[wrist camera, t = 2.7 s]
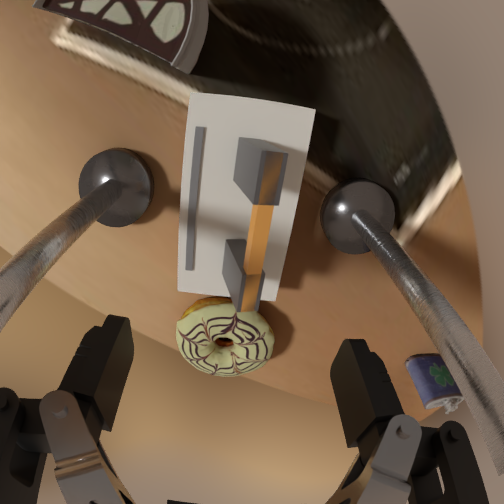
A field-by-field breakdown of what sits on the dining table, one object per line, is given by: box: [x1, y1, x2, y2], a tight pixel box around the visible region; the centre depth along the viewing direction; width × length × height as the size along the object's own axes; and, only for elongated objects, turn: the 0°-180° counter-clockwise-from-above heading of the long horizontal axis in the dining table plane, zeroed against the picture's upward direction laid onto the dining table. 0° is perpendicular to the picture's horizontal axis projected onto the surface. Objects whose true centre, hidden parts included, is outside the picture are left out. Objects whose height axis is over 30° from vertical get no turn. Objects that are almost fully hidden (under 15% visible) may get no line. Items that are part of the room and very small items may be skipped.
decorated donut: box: [176, 297, 275, 376], centre depth 31 cm, size 10×11×4 cm
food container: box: [32, 0, 209, 74], centre depth 13 cm, size 12×6×10 cm, turn 55°
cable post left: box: [0, 148, 154, 332], centre depth 14 cm, size 7×7×24 cm
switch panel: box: [178, 92, 316, 301], centre depth 24 cm, size 9×17×3 cm, turn 172°
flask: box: [405, 354, 464, 414], centre depth 34 cm, size 9×3×11 cm, turn 74°
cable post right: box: [320, 178, 504, 476], centre depth 16 cm, size 7×7×24 cm
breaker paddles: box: [222, 137, 289, 312], centre depth 20 cm, size 2×11×5 cm, turn 172°
